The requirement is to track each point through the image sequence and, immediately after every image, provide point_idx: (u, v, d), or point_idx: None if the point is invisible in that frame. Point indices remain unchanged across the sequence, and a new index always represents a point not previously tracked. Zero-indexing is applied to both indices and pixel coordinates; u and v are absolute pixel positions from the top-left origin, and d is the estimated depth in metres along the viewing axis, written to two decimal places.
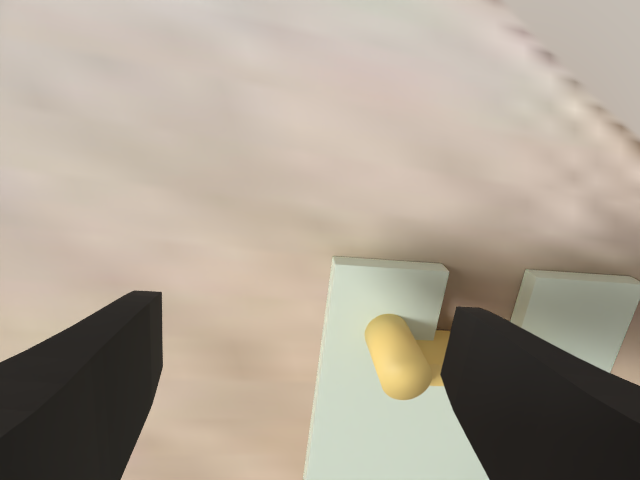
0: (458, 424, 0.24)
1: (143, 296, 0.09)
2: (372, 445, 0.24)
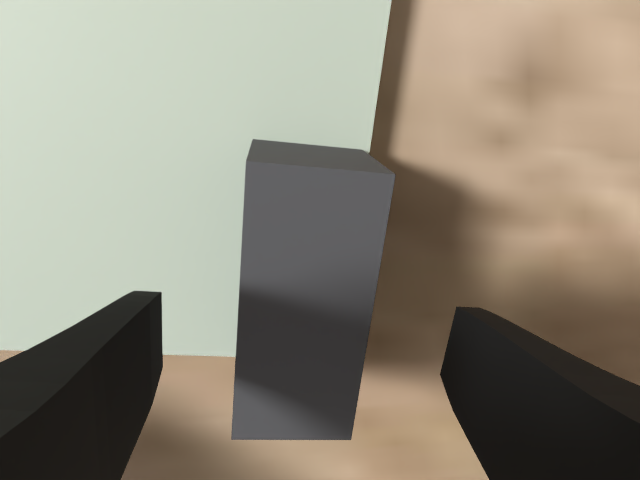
0: (105, 17, 0.12)
1: (143, 296, 0.09)
2: None
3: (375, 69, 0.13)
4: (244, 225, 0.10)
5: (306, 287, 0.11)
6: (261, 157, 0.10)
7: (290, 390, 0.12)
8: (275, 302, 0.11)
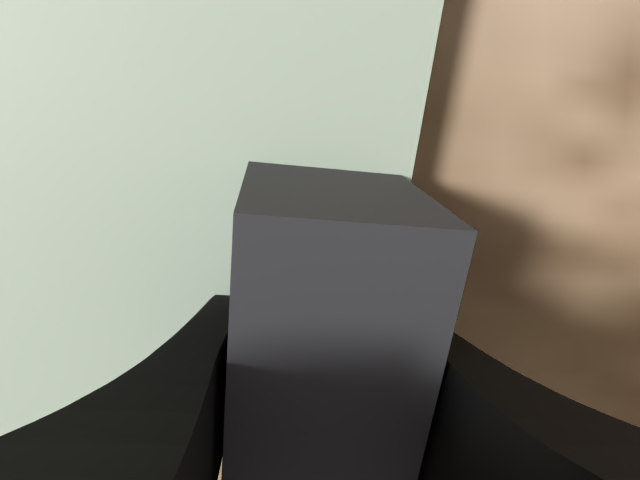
0: None
1: None
2: None
3: (423, 62, 0.09)
4: (232, 313, 0.06)
5: (329, 400, 0.07)
6: (259, 201, 0.07)
7: None
8: (282, 423, 0.07)
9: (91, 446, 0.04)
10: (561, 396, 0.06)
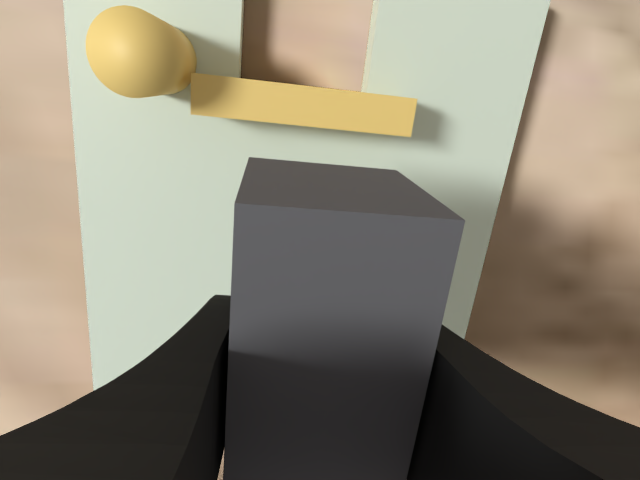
0: None
1: (228, 300, 0.09)
2: (176, 258, 0.17)
3: (481, 252, 0.18)
4: (233, 298, 0.07)
5: (326, 383, 0.07)
6: (259, 193, 0.07)
7: None
8: (281, 403, 0.08)
9: (91, 446, 0.04)
10: (561, 396, 0.06)
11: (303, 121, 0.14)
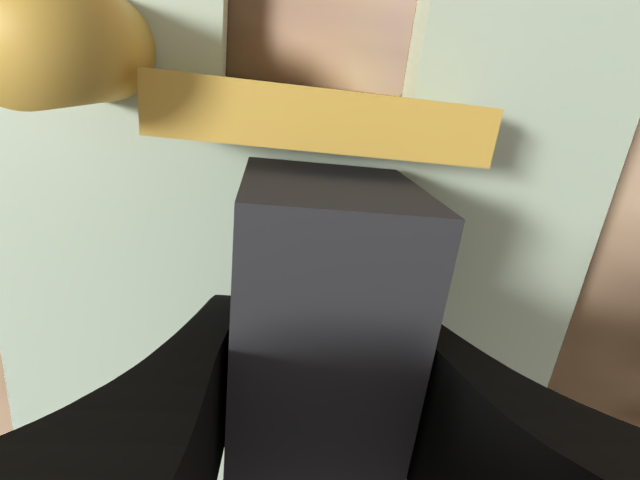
0: None
1: (229, 300, 0.09)
2: (134, 335, 0.12)
3: (564, 320, 0.13)
4: (233, 298, 0.07)
5: (326, 382, 0.07)
6: (259, 192, 0.07)
7: None
8: (281, 403, 0.08)
9: (91, 446, 0.04)
10: (561, 396, 0.06)
11: (322, 145, 0.09)
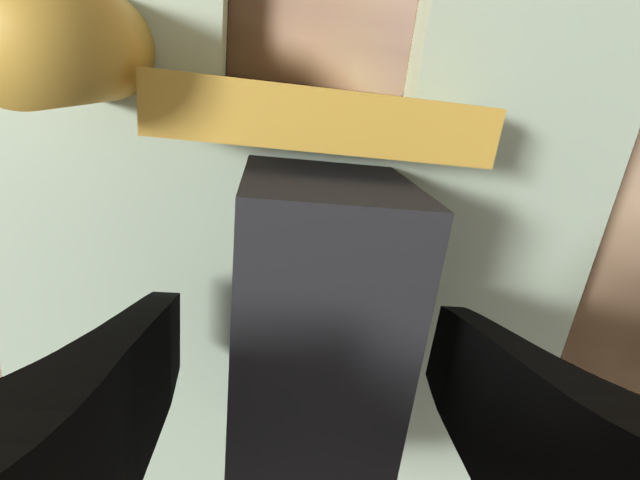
0: None
1: (163, 297, 0.09)
2: None
3: (566, 321, 0.13)
4: (234, 288, 0.07)
5: (323, 368, 0.08)
6: (259, 188, 0.07)
7: None
8: (280, 389, 0.08)
9: None
10: None
11: (323, 146, 0.08)
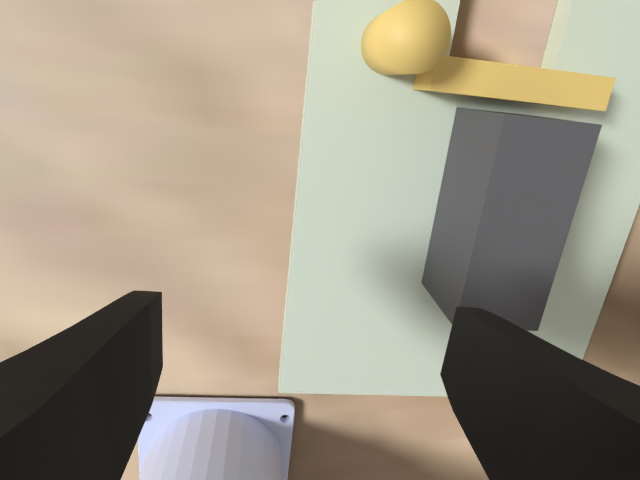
0: None
1: (143, 296, 0.09)
2: (372, 221, 0.19)
3: (630, 218, 0.20)
4: (495, 161, 0.15)
5: (527, 208, 0.15)
6: (503, 114, 0.15)
7: (502, 289, 0.16)
8: (505, 219, 0.15)
9: None
10: None
11: (519, 97, 0.16)
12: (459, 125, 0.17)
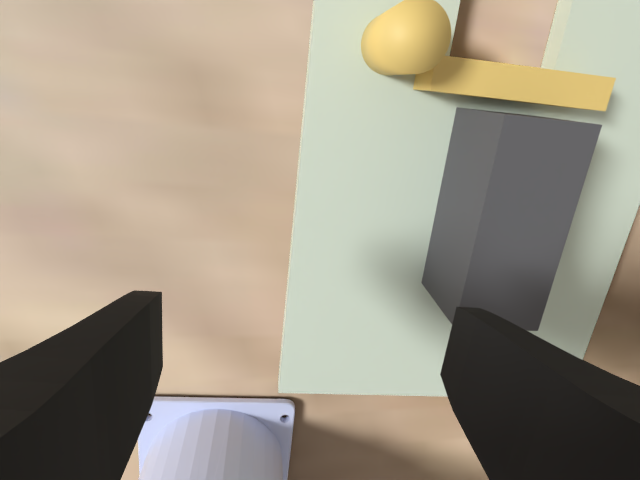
0: None
1: (143, 296, 0.09)
2: (372, 221, 0.19)
3: (630, 218, 0.20)
4: (495, 161, 0.15)
5: (527, 208, 0.15)
6: None
7: (502, 289, 0.16)
8: (505, 219, 0.15)
9: None
10: None
11: (519, 97, 0.16)
12: (459, 125, 0.17)
